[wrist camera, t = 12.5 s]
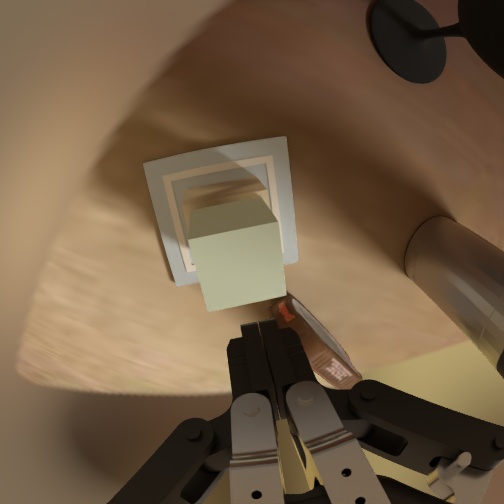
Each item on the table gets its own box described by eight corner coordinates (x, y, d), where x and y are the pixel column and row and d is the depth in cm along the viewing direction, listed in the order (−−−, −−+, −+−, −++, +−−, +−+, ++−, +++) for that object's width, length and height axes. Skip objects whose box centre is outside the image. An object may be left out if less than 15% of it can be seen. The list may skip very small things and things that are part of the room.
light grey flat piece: (284, 135, 24) (286, 136, 23) (296, 258, 29) (298, 262, 29) (144, 162, 23) (142, 164, 22) (177, 283, 28) (176, 287, 28)
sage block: (261, 196, 21) (278, 221, 16) (269, 258, 23) (286, 295, 18) (190, 210, 20) (187, 239, 16) (205, 271, 23) (208, 312, 18)
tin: (259, 294, 31) (278, 351, 23) (283, 275, 30) (309, 329, 23) (327, 357, 37) (350, 405, 30) (346, 344, 37) (373, 390, 29)
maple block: (255, 176, 24) (267, 189, 20) (264, 240, 27) (276, 263, 23) (185, 189, 24) (182, 205, 20) (200, 253, 27) (200, 279, 23)
